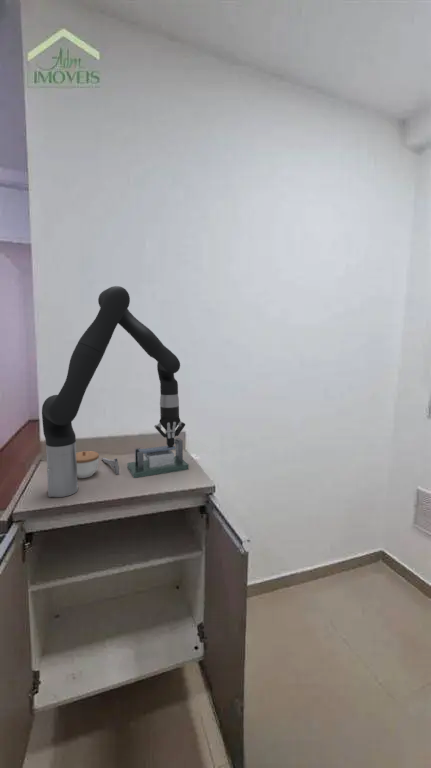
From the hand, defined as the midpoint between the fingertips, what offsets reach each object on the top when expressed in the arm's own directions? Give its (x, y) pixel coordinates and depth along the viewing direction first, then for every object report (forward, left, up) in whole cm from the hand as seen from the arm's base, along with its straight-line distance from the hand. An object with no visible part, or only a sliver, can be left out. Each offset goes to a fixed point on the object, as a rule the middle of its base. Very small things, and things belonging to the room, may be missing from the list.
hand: (170, 446), depth 143 cm
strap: (-6, 0, -1) cm, 6 cm away
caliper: (-23, +10, -9) cm, 27 cm away
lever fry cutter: (-6, 0, -9) cm, 10 cm away
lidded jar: (-33, +5, -9) cm, 34 cm away
